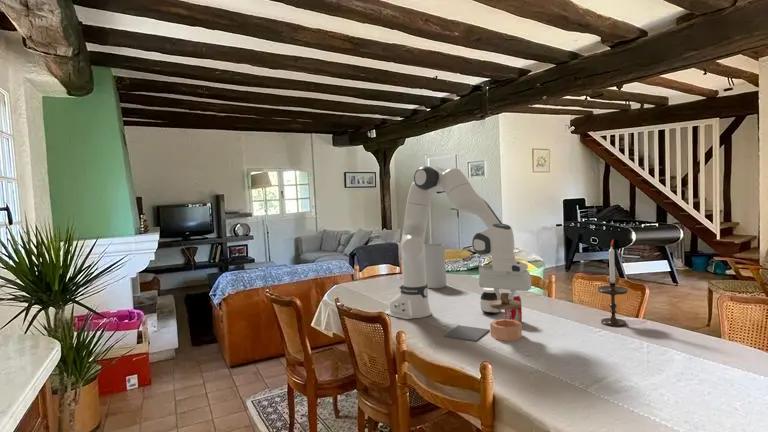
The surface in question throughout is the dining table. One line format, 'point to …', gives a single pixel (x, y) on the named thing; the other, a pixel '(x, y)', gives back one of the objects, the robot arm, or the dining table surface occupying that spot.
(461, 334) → the mat
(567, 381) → the dining table surface
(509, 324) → the bowl
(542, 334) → the dining table surface
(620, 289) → the candlestick
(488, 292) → the spread jar
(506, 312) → the soda can
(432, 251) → the cylinder vase
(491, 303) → the lid
